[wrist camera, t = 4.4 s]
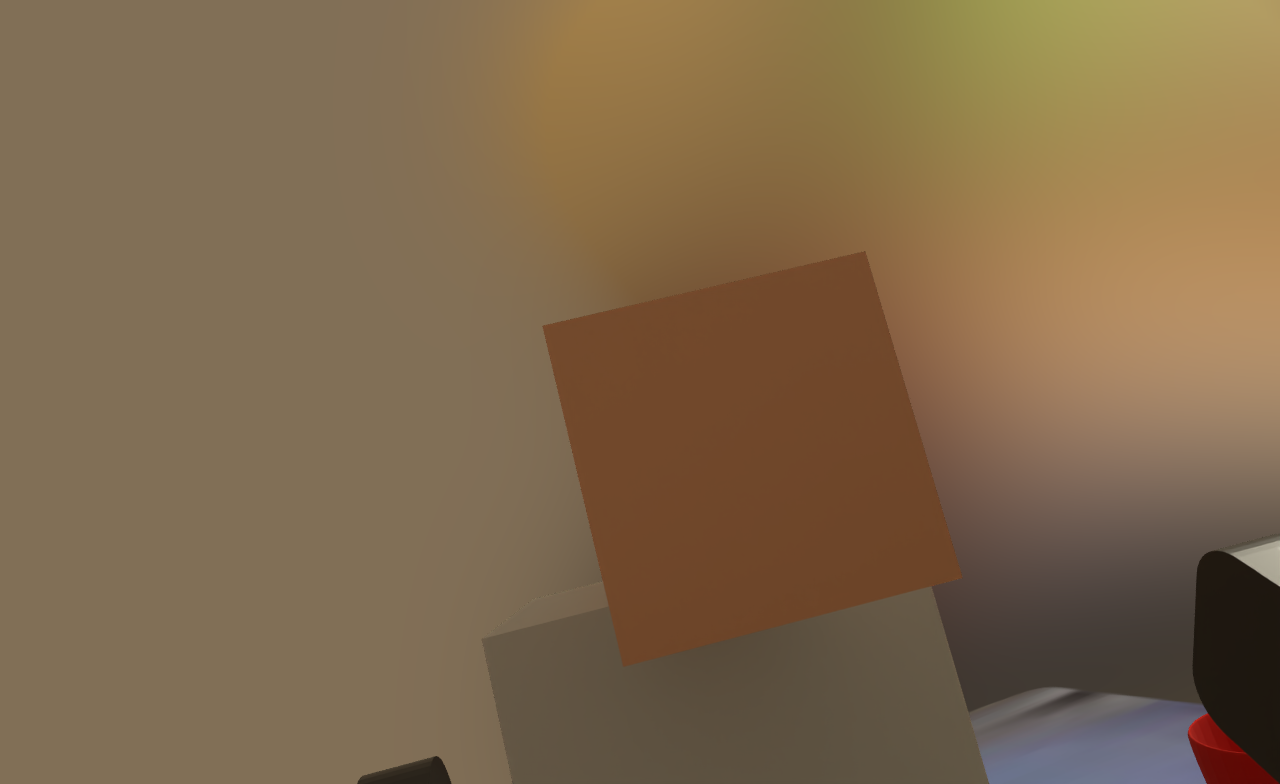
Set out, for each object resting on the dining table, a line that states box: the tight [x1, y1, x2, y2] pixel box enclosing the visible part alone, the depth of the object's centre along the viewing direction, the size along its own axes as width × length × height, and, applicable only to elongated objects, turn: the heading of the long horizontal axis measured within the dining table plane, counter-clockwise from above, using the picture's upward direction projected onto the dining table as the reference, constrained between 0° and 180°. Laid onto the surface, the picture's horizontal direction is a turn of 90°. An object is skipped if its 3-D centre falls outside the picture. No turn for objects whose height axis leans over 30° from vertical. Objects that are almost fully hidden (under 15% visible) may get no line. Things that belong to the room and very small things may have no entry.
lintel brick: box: [543, 251, 962, 667], centre depth 23 cm, size 26×4×4 cm, turn 2°
